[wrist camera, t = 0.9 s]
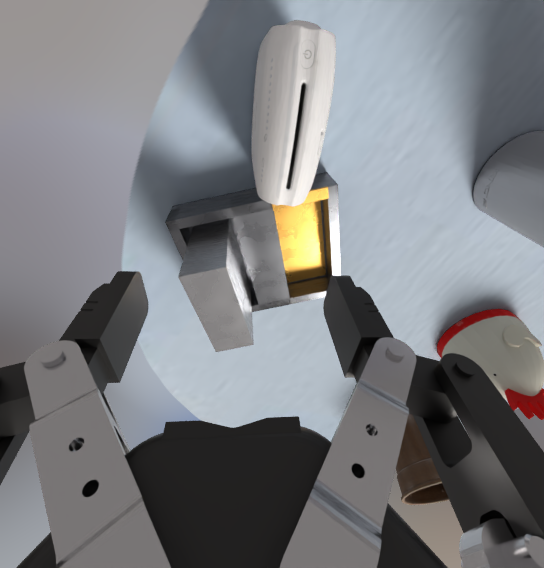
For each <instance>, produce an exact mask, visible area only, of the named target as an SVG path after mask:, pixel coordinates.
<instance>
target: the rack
mask: <svg viewBox="0 0 544 568" xmlns="http://www.w3.org/2000/svg"><path fill="white" fill-rule="evenodd" d="M165 223H166V225H167V227H168V229H169V231H170V233H171V235H172V238H173V240H174V242H175V244H176V246H177V248H178V250H179V253H180V255H181V257H182V259H183V263H182V266H181V270H180V273H179V279H180V281H181V283H182V285H183V287H184V289H185V291H186V293H187V295H188V297H189V299H190V301H191V303H192V305H193V307H194V309H195V311H196V313H197V315H198V317H199V319H200V321H201V323H202V325H203V327H204V329H205V331H206V333H207V335H208V337H209V339H210V341H211V343H212V345H213V347H214V349H215V351H216V352H219V351H224V350H229V349H234V348H239V347H244V346H249V345H254V342H253V324H252V312H254V311H259V310H264V309H269V308H274V307H279V306H284V305H289V304H294V303H299V302H304V301H308V300H313V299H318V298H323V297H325V296H326V292H327V288H328V285H329V281H330V278H331V276H332V275H339V276H341V269H340V238H339V208H338V184H337V183H336V182H335V181H334V180H333V178H332V177H331V176H330V175H329V174H328V173H327V172H326V173H321V174H317V175H315V177H314V181H313V184H312V187H311V189H310V191H309V193H308V195H307V197H306V199H305V201H304V202H303V203H302V204H300V205H297V206H293V207H292V206H288V205H274V204H271V203H268V202H266V201H264V200H262V199H261V198H260V197H259V196H258V193H257V188H253V189H249V190H244V191H240V192H235V193H231V194H226V195H222V196H217V197H212V198H208V199H203V200H199V201H194V202H190V203H185V204H181V205H176V206H173V207H172V209H171V211H170V213H169V215H168V218H167V220H166V222H165Z"/></svg>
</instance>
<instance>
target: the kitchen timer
mask: <svg viewBox="0 0 544 568" xmlns="http://www.w3.org/2000/svg"><path fill="white" fill-rule="evenodd" d="M539 346H542V344H541V343H540V342H539V340H538V339H537V338H536V337H535V336H533V335H532V334H531V332H530V331H529V329H528V328H527V327H526V325H525V324H524V323H523V322H522V321H521V320H520V319H519V318H518V317H517V316H516V315H514V314H513V313H511V312H510V311H508V310H503V309H491V310H485V311H482V312H478V313H475V314H473V315H470V316H468V317H466V318H464V319H462V320H460V321H459V322H457V323H456V324H454V325H453V326H452V327H450V328H449V329H448V330H447V331H446V332H445V333H444V334H443V336H442V337H441V338H440V340H439V342H438V345H437V353H438V354H439V356H440V357H441V358H442V357H443V356H444V355H445V354H448V353H456V354H460V355H463V356H465V357H468V358H469V359H471V360H473V361H474V362H475V363H477V364H478V365H479V366H480V367H481V368H482V369H483V370H484V372H485V373H486V374H487V376H488V377H489V379H490V380H491V381H492V383H493V384H494V385H495V387H496V388H497V389H498V391H499V392H500V393H501V395H502V396H503V398H504V399H506V400H508V403H509V405H510V407H511V408H512V410H513V411H514V410H515V409H517V408H519V409H520V410H521V411H522V412H523V414H524V415H525V416H526V417H527V418H528V419H530V418H532V417H533V416H534V414H535V415H536V416H537V417H538V418H539V419H541V420H543V419H544V389H543V388H542V386H543V383H544V360H543V357H542V354H541V352H540V349H539ZM533 413H534V414H533Z"/></svg>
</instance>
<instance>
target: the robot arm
mask: <svg viewBox="0 0 544 568" xmlns="http://www.w3.org/2000/svg"><path fill="white" fill-rule="evenodd" d="M473 197H474V202H475V205H476V206H477V208H478V209H479V210H480V211H482V212H484V213H486V214H487V215H489V216H491V217H492V218H494V219H496V220H497V221H499V222H501V223H503V224H504V225H506V226H507V227H509V228H511V229H513V230H514V231H516V232H518V233H520V234H521V235H523V236H525V237H526V238H528V239H530V240H532V241H533V242H535V243H537V244H539V245H540V246H542V247H544V131H534V132H529V133H526V134H523V135H521V136H518V137H516V138H515V139H513V140H511V141H510V142H508V143H506V144H505V145H504V146H503V147H501V148H500V149H499V150H498V151H497V152H496V153H495V154H494V155H493V156H492V157H491V158H490V159H489V160H488V162H487V163H486V164H485V166H484V167H483V168H482V170H481V172H480V174H479V175H478V178H477V180H476V183H475V186H474V192H473ZM374 304H375V303H374V302H373V300H372V298H371V296H370V295H369V294H368V293H367V292H366V291H365V290H364V289H362V288H361V287H356V286H355V285H354V283H353V281H352V279H351V277H350V276H339V275H332V276H331V278H330V281H329V285H328V288H327V292H326V296H325V300H324V315H325V319H326V322H327V325H328V328H329V331H330V334H331V337H332V340H333V343H334V346H335V349H336V352H337V355H338V358H339V361H340V364H341V367H342V370H343V373H344V376H345V378H347V377H355V379H356V382H357V384H356V386H355V388H354V391H353V393H352V395H351V398H350V400H349V402H348V404H347V407H346V409H345V411H344V413H343V416H342V418H341V420H340V422H339V425H338V427H337V429H336V431H335V434H334V436H333V438H332V440H331V442H330V441H329V440H328V439H326V438H325V437H323V436H322V435H320V434H319V433H317V432H315V431H313V430H310V429H308V428H305V427H301V426H300V421H299V417H275V418H265V419H262V420H259V421H256V422H253V423H249V424H246V425H243V426H240V427H236V428H230V427H225V426H221V425H217V424H212V423H208V422H204V421H179V422H166V424H165V428H164V433H161V434H158V435H156V436H154V437H151V438H149V439H148V440H146V441H144V442H142V443H141V444H139V445H138V446H136V447H135V448H133V449H132V450H130V448H129V446H128V444H127V442H126V440H125V438H124V436H123V434H122V431H121V429H120V427H119V425H118V422H117V420H116V418H115V416H114V414H113V411H112V409H111V407H110V404H109V402H108V400H107V398H106V396H105V394H104V390H105V388H106V385H107V383H118V382H120V381H121V378H122V376H123V373H124V371H125V368H126V366H127V363H128V361H129V358H130V356H131V353H132V351H133V348H134V346H135V343H136V341H137V338H138V336H139V333H140V331H141V328H142V326H143V324H144V321H145V319H146V316H147V313H148V299H147V295H146V291H145V288H144V284H143V280H142V276H141V274H140V272H128V271H120V272H117V273H116V275H115V276H114V278H113V279H112V281H111V282H110V284H103V285H101V286H100V287H99V288H97V289H96V290H95V291H93V292H92V294H91V295H90V296H89V298H88V300H87V301H86V303H85V304H84V305H83V307H82V308H81V311H80V312H79V313H78V314H77V315H76V317H75V318H74V320H73V321H72V323H71V324H70V325H69V327H68V328H67V330H66V331H65V333H64V334H63V336H62V337H61V339H60V340H59V341H56V342H53V343H50V344H47V345H45V346H43V347H42V348H40V349H38V350H37V351H35V352H34V353H33V354H32V355H31V356H30V357H29V358H28V359H27V361H26V362H23V363H19V364H15V365H11V366H6V367H2V368H0V485H1V483H2V481H3V479H4V477H5V475H6V473H7V472H8V470H9V468H10V466H11V464H12V462H13V460H14V459H15V456H16V455H17V453H18V451H19V449H20V447H21V446H22V444H23V442H24V440H25V438H26V436H27V434H28V432H29V431H30V435H31V440H32V444H33V449H34V454H35V458H36V463H37V468H38V473H39V478H40V483H41V487H42V492H43V497H44V501H45V506H46V511H47V515H48V521H49V525H50V530H51V532H50V533H49V535H48V536H47V537H46V538H45V539H44V540H43V541H42V542H41V543H40V544H39V545H38V546H37V547H36V548H35V549H34V550H33V551H32V552H31V553H30V554H29V555H28V556H27V557H26V558H25V559H24V560H23V561H22V562H21V563H20V565H19V566H18V567H17V568H447V566H446V565H444V563H443V562H442V561H441V560H440V559H439V558H438V557H437V556H436V555H435V553H434V552H433V551H432V550H431V549H430V548H429V547H428V546H427V545H426V544H425V543H424V542H423V541H422V540H421V538H420V537H419V536H418V535H417V534H416V533H415V532H414V531H413V530H412V529H411V528H410V526H409V525H408V524H407V523H406V522H405V521H404V520H403V519H402V518H401V517H400V516H399V515H398V513H396V511H395V510H394V509H393V508H392V507H391V506H390V505H389V504H388V499H389V495H390V491H391V486H392V482H393V478H394V474H395V469H396V465H397V461H398V457H399V452H400V448H401V444H402V440H403V436H404V431H405V427H406V423H407V419H408V414H412V415H413V417H414V419H415V421H416V424H417V426H418V428H419V431H420V433H421V435H422V437H423V440H424V442H425V444H426V447H427V449H428V451H429V454H430V456H431V458H432V461H433V463H434V465H435V468H436V470H437V472H438V474H439V477H440V479H441V481H442V484H443V486H444V488H445V491H446V493H447V495H448V498H449V500H450V502H451V505H452V507H453V509H454V511H455V514H456V516H457V518H458V521H459V523H460V525H461V527H462V530H463V532H464V534H463V535H462V537H461V540H460V556H461V560H462V561H461V566H462V568H544V452H543V451H542V449H541V448H540V446H539V445H538V444H537V442H536V441H535V440H534V438H533V437H532V436H531V434H530V433H529V432H528V430H527V429H526V428H525V426H524V425H523V423H522V422H521V421H520V419H519V418H518V417H517V415H516V414H515V413H514V411H513V410H512V408H511V407H510V406H509V404H508V403H507V402H506V400H505V399H504V398H503V396H502V395H501V393H500V392H499V391H498V389H497V388H496V387H495V385H494V384H493V383H492V381H491V380H490V379H489V377H488V376H487V374H486V373H485V372H484V370H483V369H482V368H481V367H480V366H479V365H478V364H477V363H475V362H474V361H473V360H471V359H469V358H468V357H465V356H463V355H460V354H456V353H448V354H445V355H444V356H443V357H442V358H441V360H440V361H436V360H433V359H429V358H425V357H421V356H417V355H415V353H414V352H413V350H412V349H411V348H410V347H409V346H408V345H407V344H405V343H404V342H402V341H400V340H398V339H395V338H394V337H393V335H392V334H391V332H390V330H389V328H388V327H387V325H386V323H385V321H384V319H383V318H382V316H381V314H380V312H378V309H377V307H376V305H374ZM457 415H458V416H457ZM458 417H459V418H458ZM459 419H460V420H461V422H462V424H463V425H462V424H461V422H460V420H459ZM463 426H464V427H465V429H466V431H467V432H466V431H465V429H464V427H463ZM467 433H468V434H467ZM468 435H469V436H468ZM469 437H470V438H469ZM470 439H471V440H470Z"/></svg>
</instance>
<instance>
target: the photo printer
mask: <svg viewBox="0 0 544 568" xmlns="http://www.w3.org/2000/svg"><path fill="white" fill-rule="evenodd" d="M335 60H336V41H335V35H334V34H333V33H331V32H329V31H327V30H323V29H321V28H320V27H319V26H318V25H316V24H314V23H310V22H306V21H300V20H294V21H291V22H288V23H287V24H285V25H276V26H273V27H271V29H270V30H269V31H268V33H267V35H266V36H265V38H264V39H263V41H262V42H261V45H260V49H259V53H258V59H257V66H256V76H255V88H254V101H253V118H252V146H251V153H252V164H253V171H254V177H255V183H256V188H257V193H258V196H259V197H260V198H261V199H262V200H264V201H266V202H268V203H271V204H274V205H288V206H292V207H293V206H297V205H300V204H302V203H303V202H304V201H305V199H306V197H307V195H308V193H309V191H310V189H311V187H312V184H313V181H314V177H315V174H316V170H317V167H318V163H319V159H320V155H321V150H322V146H323V142H324V137H325V132H326V127H327V122H328V117H329V111H330V105H331V99H332V93H333V86H334V79H335V75H334V73H335Z"/></svg>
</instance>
